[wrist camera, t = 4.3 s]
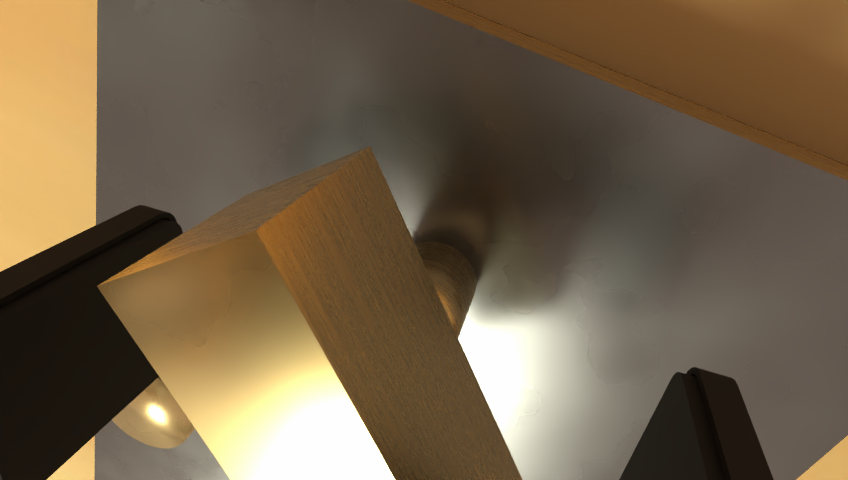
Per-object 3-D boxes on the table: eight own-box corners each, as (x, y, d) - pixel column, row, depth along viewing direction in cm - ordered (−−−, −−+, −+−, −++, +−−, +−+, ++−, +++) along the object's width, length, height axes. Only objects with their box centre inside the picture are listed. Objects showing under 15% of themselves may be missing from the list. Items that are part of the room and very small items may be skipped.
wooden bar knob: (320, 149, 11) (74, 299, 6) (421, 107, 10) (237, 243, 5) (447, 408, 13) (353, 692, 8) (540, 395, 12) (505, 709, 7)
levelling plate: (130, 493, 24) (61, 571, 20) (170, -110, 12) (19, -145, 9) (494, 685, 22) (479, 800, 19) (968, 215, 10) (1139, 316, 7)
